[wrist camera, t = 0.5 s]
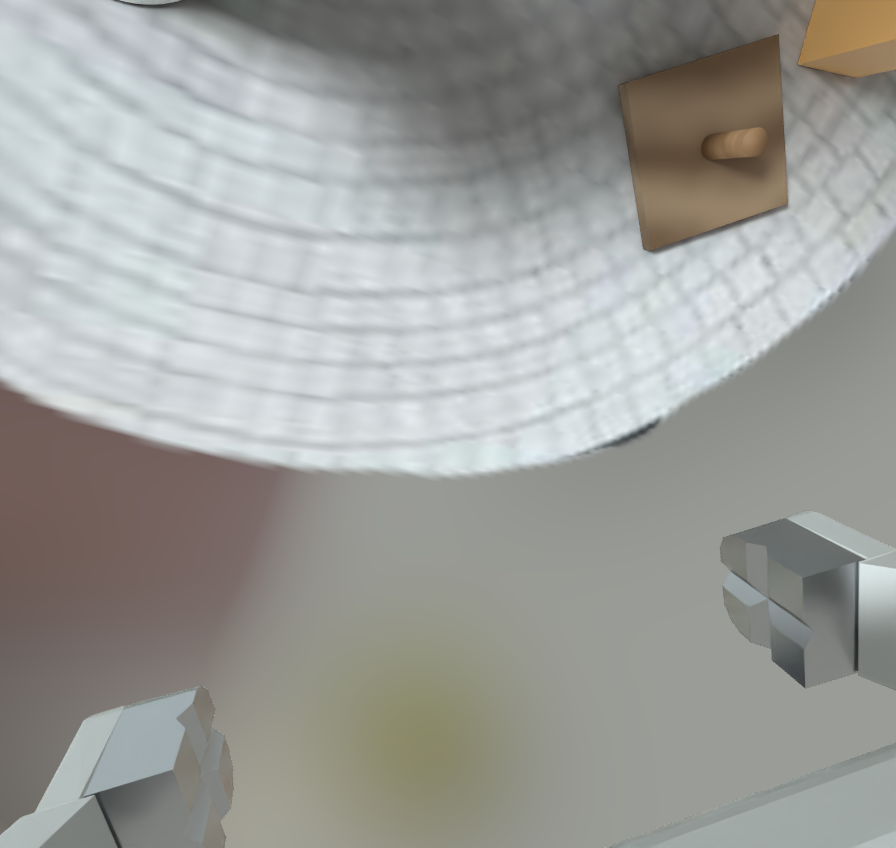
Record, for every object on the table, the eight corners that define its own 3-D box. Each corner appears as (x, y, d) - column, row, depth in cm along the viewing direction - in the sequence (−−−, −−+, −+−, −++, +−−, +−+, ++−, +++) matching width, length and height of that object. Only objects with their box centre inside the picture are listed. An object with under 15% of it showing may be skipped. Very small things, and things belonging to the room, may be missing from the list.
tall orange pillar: (797, 64, 46) (902, 37, 38) (821, -21, 44) (937, -70, 36) (856, 77, 47) (970, 54, 39) (882, -5, 45) (1008, -49, 37)
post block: (618, 85, 44) (663, 69, 38) (767, 37, 45) (832, 15, 39) (643, 249, 49) (686, 256, 43) (777, 203, 50) (836, 205, 44)
